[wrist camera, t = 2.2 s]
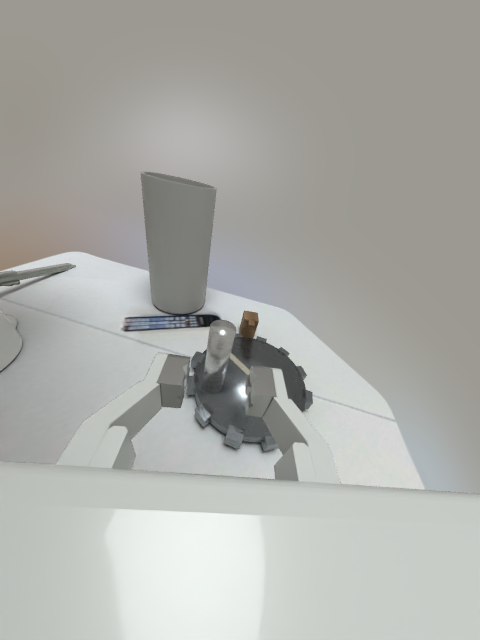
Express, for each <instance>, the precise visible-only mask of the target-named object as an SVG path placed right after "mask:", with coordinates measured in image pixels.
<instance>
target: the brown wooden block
mask: <svg viewBox="0 0 480 640" xmlns="http://www.w3.org/2000/svg"><path fill="white" fill-rule="evenodd" d="M258 322H259V320H258V313H255V312H249V311H244V313H243V317H242V321H241V325H240V334H242V336H243V337H245V338H252V339H253V337H254V334H255V331H256V328H257V325H258Z"/></svg>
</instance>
